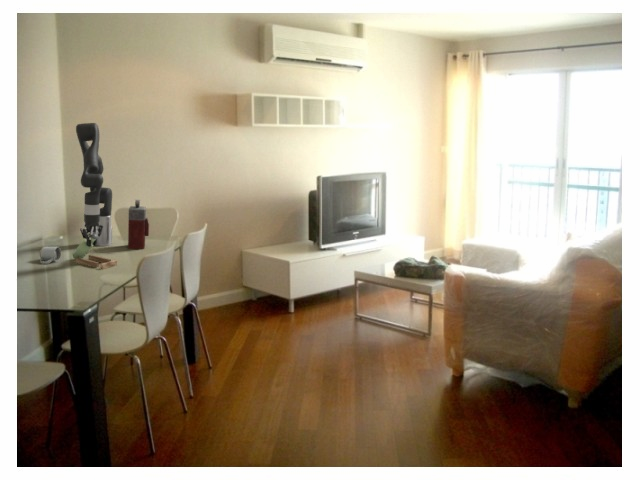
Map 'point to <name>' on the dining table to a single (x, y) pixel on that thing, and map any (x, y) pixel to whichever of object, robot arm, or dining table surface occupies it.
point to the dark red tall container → (137, 226)
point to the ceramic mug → (50, 254)
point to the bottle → (84, 247)
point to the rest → (105, 262)
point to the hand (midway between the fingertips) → (91, 245)
